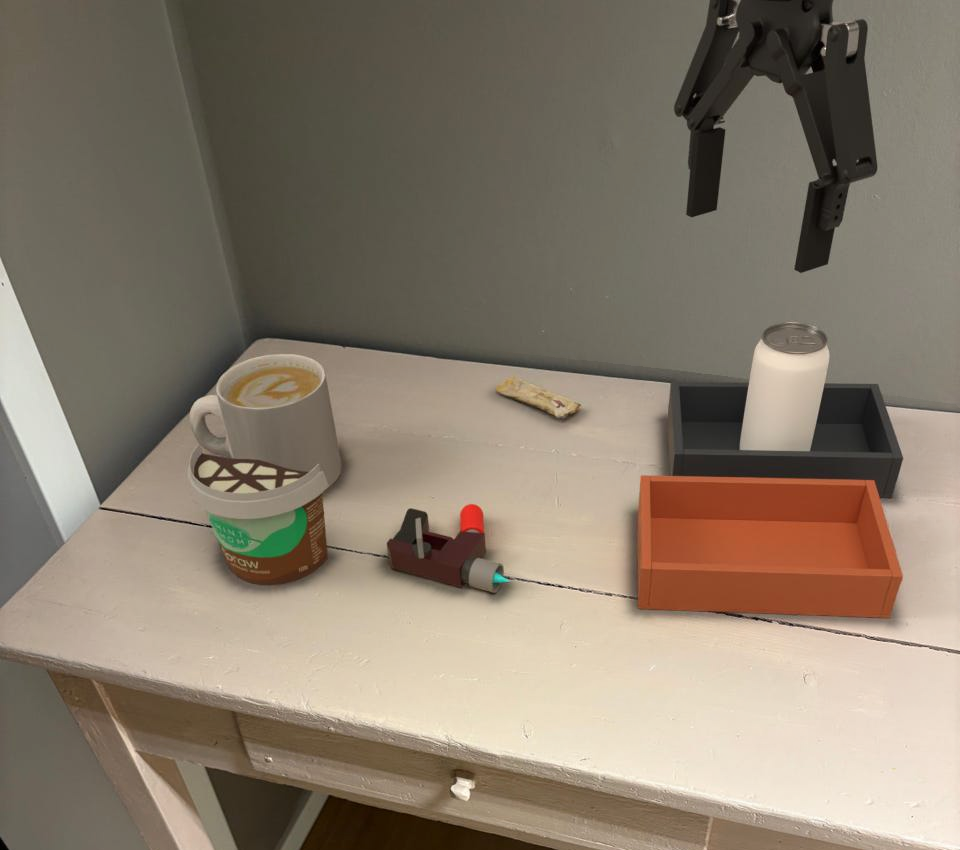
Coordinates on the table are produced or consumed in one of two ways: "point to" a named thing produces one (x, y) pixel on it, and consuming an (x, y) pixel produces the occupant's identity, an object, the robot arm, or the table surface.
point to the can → (785, 388)
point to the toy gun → (446, 551)
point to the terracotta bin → (765, 546)
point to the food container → (262, 515)
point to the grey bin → (833, 455)
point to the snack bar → (538, 397)
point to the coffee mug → (273, 415)
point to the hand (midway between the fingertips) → (753, 238)
